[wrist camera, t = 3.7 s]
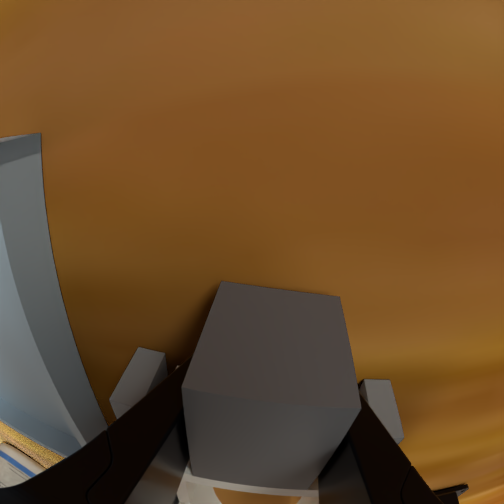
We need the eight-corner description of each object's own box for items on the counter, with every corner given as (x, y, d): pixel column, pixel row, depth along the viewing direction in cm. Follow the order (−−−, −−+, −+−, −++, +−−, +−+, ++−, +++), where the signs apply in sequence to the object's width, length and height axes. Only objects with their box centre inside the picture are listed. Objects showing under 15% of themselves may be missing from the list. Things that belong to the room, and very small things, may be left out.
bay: (312, 493, 14) (310, 548, 11) (170, 474, 15) (154, 526, 11) (390, 379, 9) (412, 478, 6) (138, 346, 10) (89, 437, 6)
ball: (286, 490, 11) (317, 527, 7) (207, 494, 10) (216, 538, 7) (292, 423, 12) (327, 448, 8) (208, 424, 11) (218, 455, 8)
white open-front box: (297, 482, 14) (293, 543, 10) (190, 467, 14) (174, 526, 10) (387, 292, 8) (434, 406, 4) (171, 263, 8) (101, 366, 5)
